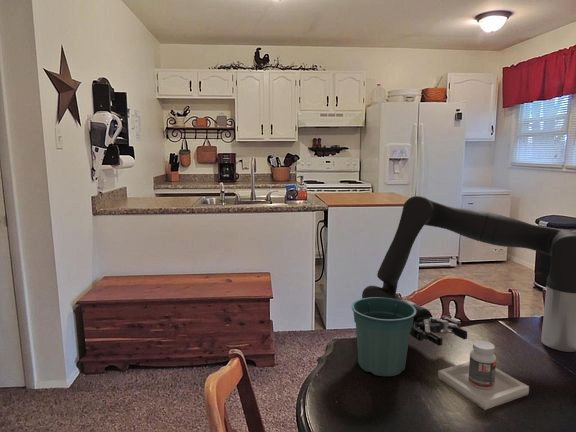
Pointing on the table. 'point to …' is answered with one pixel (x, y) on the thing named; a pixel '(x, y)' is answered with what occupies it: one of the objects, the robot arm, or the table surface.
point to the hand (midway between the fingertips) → (454, 338)
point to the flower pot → (383, 334)
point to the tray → (485, 398)
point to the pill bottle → (482, 365)
